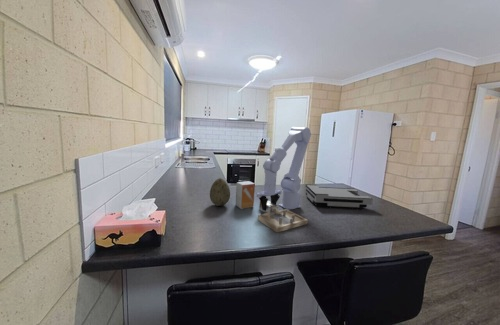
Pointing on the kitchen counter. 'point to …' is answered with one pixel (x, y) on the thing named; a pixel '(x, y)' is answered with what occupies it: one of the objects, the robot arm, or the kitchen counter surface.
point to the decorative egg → (219, 192)
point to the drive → (269, 207)
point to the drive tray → (282, 220)
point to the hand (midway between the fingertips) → (268, 209)
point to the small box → (245, 194)
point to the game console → (336, 197)
